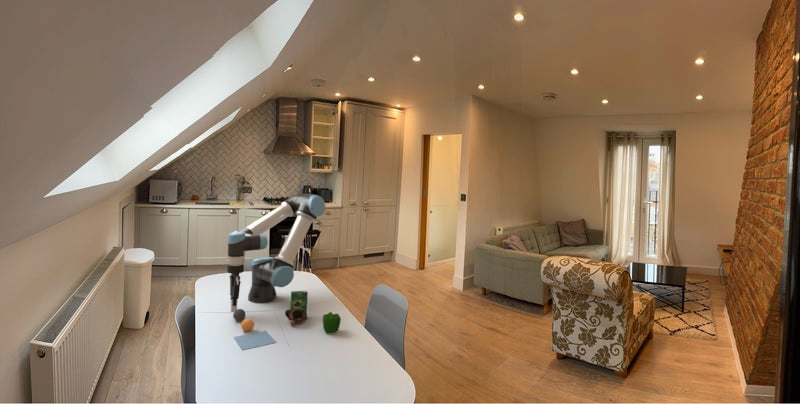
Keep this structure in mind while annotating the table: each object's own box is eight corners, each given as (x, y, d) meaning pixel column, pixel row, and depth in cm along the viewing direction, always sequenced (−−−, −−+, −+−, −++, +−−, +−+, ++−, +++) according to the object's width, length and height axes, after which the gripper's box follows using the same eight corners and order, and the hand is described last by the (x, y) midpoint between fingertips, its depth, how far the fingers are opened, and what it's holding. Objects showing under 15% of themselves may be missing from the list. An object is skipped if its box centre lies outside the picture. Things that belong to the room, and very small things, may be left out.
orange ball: (252, 327, 184) (252, 315, 183) (255, 331, 180) (255, 320, 179) (239, 329, 181) (239, 318, 180) (242, 334, 176) (243, 322, 176)
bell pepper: (331, 326, 190) (332, 306, 189) (343, 331, 184) (344, 310, 184) (317, 331, 183) (318, 310, 182) (329, 337, 178) (330, 315, 177)
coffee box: (305, 314, 203) (306, 289, 201) (307, 317, 200) (307, 291, 199) (289, 316, 199) (290, 291, 198) (290, 318, 197) (291, 292, 195)
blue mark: (265, 330, 181) (265, 330, 181) (276, 342, 170) (276, 342, 170) (233, 337, 173) (233, 337, 173) (242, 350, 162) (242, 349, 162)
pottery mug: (310, 321, 197) (311, 310, 192) (301, 335, 189) (301, 324, 184) (289, 312, 198) (289, 301, 194) (278, 326, 191) (278, 315, 186)
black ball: (243, 317, 195) (243, 306, 195) (246, 321, 191) (247, 310, 190) (231, 319, 192) (232, 308, 191) (234, 323, 188) (234, 312, 187)
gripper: (224, 261, 198) (223, 308, 199) (230, 267, 187) (228, 316, 188) (240, 260, 202) (238, 306, 203) (246, 266, 191) (244, 314, 193)
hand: (233, 311), depth 196 cm, fingers closed
